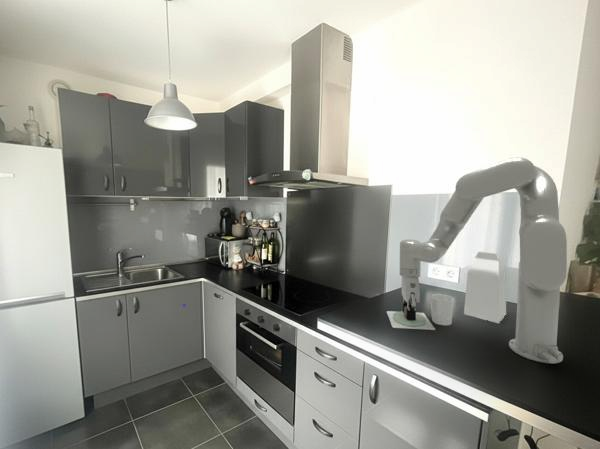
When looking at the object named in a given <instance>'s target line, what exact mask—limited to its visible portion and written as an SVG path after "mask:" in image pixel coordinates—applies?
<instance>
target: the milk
mask: <svg viewBox="0 0 600 449" xmlns="http://www.w3.org/2000/svg"><path fill="white" fill-rule="evenodd" d="M466 274H467V276H466V286H465V287H466V288H465V298H464V309H463V315H466V316H468V317H469V316H470V317H473V318H477V319H480V320H484V321H487V320H488V321H489V322H491V323H496V324H500V323H501V322H502V320H503V319H504V318H505V317H506V316H507V293H506V292H507V290H506V289H507V288H506V284H507V283H506V269H505V267H504V265H503V263H502V262H501V260H500V258H499V256H498V253H497V252H493V251H492V252H490V251H481V250H479V251H478V252H477V253H476V256H475V257H474V259H473V260H472V262H471V264H470V265H469V267H468V269H467V273H466ZM505 315H506V316H505ZM504 316H505V317H504ZM500 321H501V322H500Z"/></svg>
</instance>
